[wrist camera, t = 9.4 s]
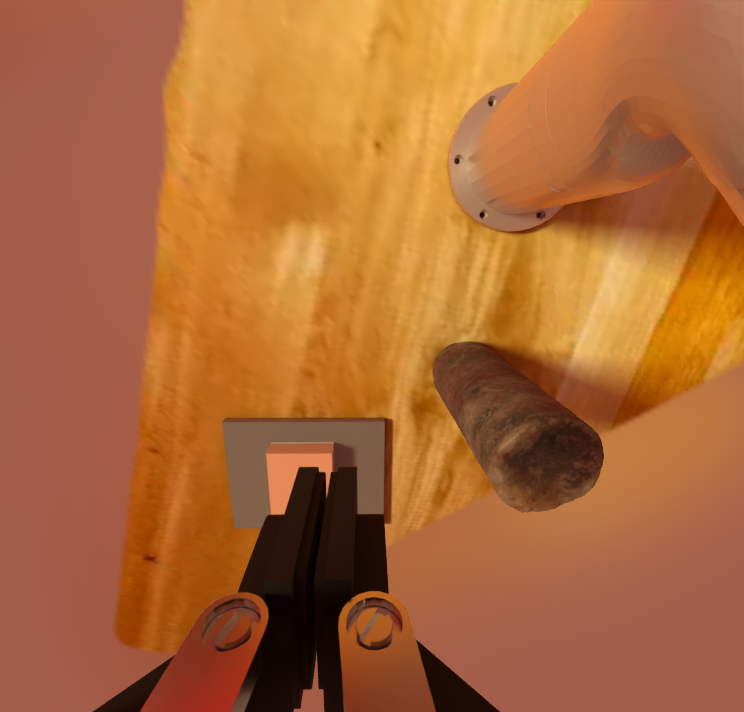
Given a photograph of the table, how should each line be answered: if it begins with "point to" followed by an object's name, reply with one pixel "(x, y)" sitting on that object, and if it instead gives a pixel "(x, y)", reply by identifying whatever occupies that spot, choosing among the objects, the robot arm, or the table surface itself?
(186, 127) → the table surface
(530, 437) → the brown weathered post
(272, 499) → the tile
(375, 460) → the board
